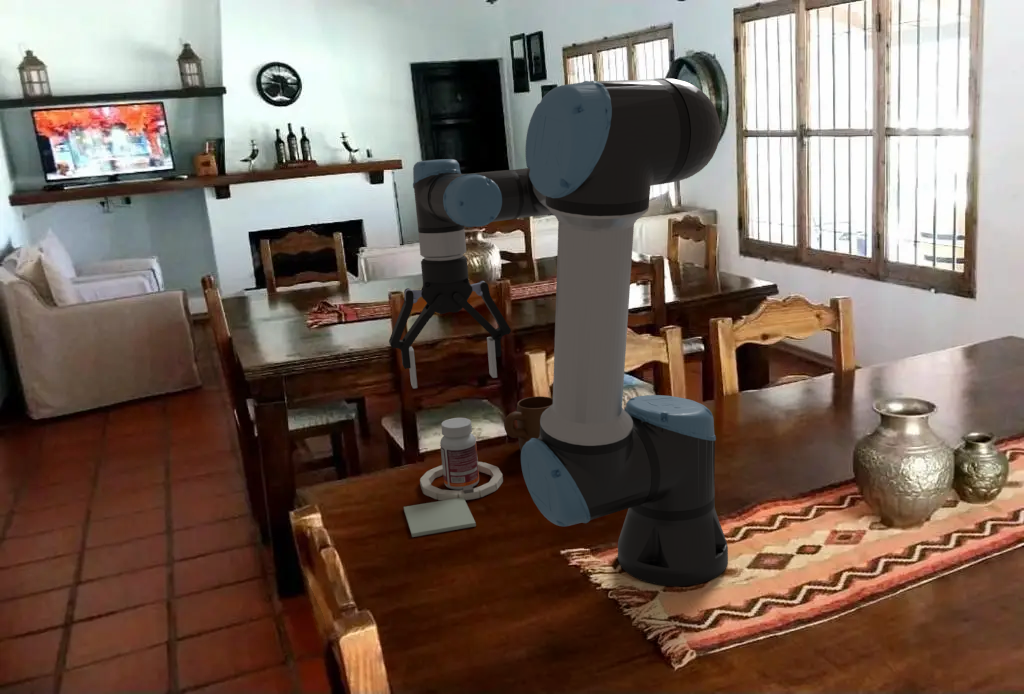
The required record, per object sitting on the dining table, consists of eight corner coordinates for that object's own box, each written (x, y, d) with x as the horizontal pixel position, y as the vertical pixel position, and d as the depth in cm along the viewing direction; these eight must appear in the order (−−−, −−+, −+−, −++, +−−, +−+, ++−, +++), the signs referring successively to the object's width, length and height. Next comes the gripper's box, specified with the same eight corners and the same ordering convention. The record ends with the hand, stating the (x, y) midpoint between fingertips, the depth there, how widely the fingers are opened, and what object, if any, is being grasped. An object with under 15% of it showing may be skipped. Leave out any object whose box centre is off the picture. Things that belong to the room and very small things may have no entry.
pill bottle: (486, 482, 151) (481, 421, 148) (459, 494, 147) (454, 431, 144) (463, 473, 155) (458, 414, 153) (436, 484, 151) (431, 423, 149)
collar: (510, 492, 146) (509, 483, 146) (428, 506, 143) (427, 496, 143) (491, 462, 159) (491, 453, 159) (416, 474, 156) (415, 465, 156)
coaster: (475, 526, 135) (475, 522, 135) (412, 537, 133) (411, 533, 133) (463, 500, 144) (463, 497, 144) (403, 510, 142) (403, 506, 142)
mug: (522, 467, 156) (519, 418, 154) (493, 457, 162) (490, 410, 159) (567, 447, 164) (565, 400, 162) (538, 439, 170) (536, 393, 167)
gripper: (512, 246, 147) (520, 365, 153) (364, 260, 142) (378, 384, 148) (523, 252, 140) (530, 377, 146) (368, 267, 135) (382, 397, 141)
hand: (454, 381), depth 147 cm, fingers open, 13 cm apart
